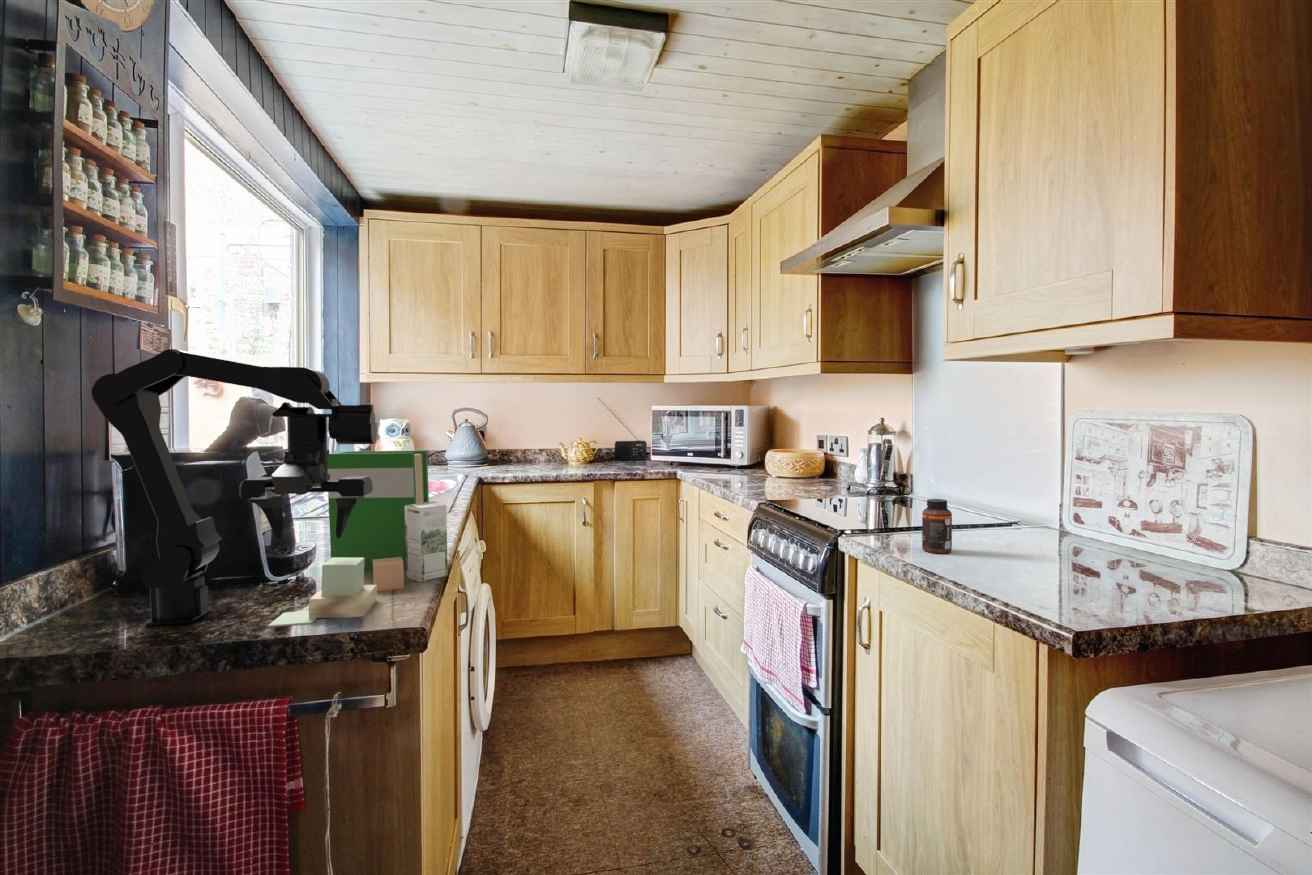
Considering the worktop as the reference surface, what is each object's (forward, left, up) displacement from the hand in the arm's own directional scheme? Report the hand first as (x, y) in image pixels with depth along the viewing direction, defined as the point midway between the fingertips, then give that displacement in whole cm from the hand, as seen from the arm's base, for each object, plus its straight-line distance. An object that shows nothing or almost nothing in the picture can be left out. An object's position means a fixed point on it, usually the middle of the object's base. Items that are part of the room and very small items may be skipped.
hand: (309, 538), depth 104 cm
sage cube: (+6, -3, -8) cm, 11 cm away
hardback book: (+5, +27, -12) cm, 30 cm away
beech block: (+6, -3, -11) cm, 13 cm away
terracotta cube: (+10, +10, -12) cm, 18 cm away
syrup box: (+16, +15, -12) cm, 25 cm away
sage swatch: (0, -6, -12) cm, 13 cm away
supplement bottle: (+123, +11, -12) cm, 124 cm away
